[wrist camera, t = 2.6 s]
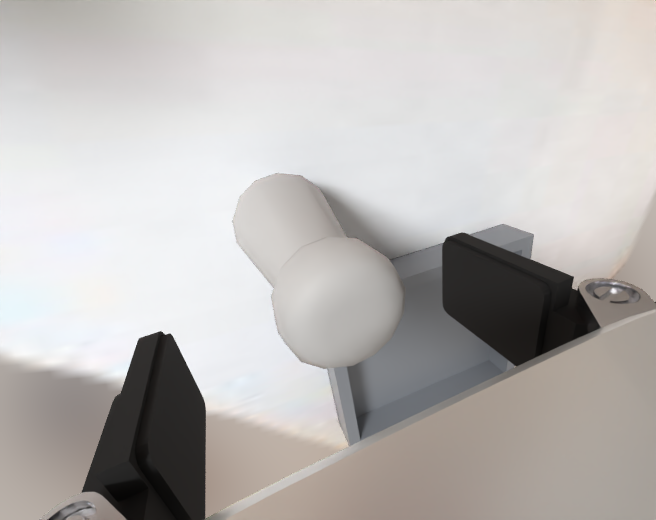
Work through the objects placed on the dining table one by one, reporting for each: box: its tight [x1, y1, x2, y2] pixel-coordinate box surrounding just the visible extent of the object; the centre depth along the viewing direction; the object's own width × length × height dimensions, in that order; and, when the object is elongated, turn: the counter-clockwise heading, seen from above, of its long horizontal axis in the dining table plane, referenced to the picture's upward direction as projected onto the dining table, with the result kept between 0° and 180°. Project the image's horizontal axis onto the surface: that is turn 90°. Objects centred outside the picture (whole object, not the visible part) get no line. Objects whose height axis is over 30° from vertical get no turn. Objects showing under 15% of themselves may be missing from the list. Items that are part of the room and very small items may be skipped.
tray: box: [327, 224, 534, 446], centre depth 28 cm, size 18×16×3 cm
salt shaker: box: [232, 173, 406, 369], centre depth 15 cm, size 6×6×13 cm
